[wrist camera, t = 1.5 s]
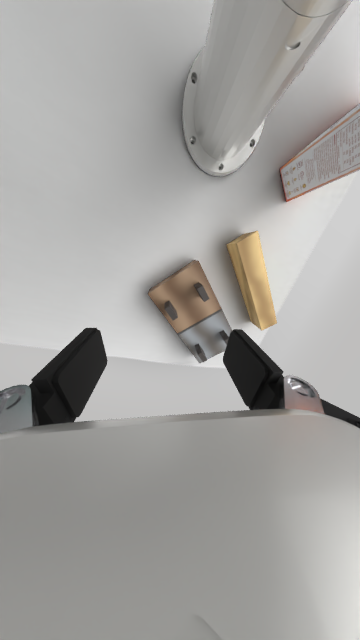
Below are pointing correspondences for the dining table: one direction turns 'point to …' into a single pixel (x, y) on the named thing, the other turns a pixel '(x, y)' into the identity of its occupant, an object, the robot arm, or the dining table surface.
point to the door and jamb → (193, 311)
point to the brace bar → (253, 278)
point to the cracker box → (324, 158)
